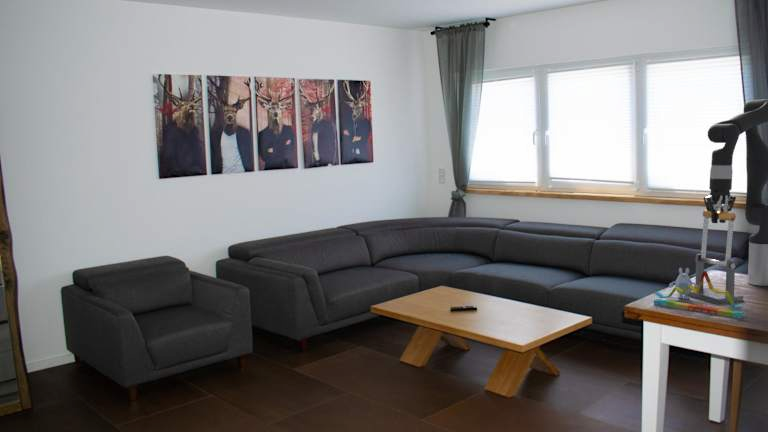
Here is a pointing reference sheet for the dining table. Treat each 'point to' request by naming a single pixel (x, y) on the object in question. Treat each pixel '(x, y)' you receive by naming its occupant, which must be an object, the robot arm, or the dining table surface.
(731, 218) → the lever
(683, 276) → the toy figure
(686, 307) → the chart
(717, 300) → the lever stand
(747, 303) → the dining table surface
